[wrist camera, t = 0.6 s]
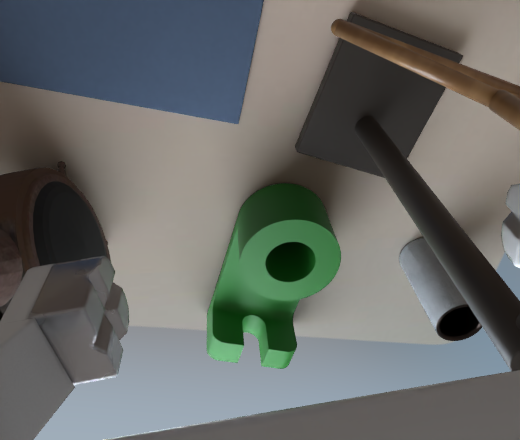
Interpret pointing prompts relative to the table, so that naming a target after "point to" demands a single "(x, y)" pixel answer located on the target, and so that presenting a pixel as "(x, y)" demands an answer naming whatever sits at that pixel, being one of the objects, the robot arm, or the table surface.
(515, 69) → the table surface
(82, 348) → the robot arm
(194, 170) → the table surface
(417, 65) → the hanger
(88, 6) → the mat
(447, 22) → the table surface
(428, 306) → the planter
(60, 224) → the alarm clock
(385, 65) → the rail
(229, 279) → the green bracket
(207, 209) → the table surface
